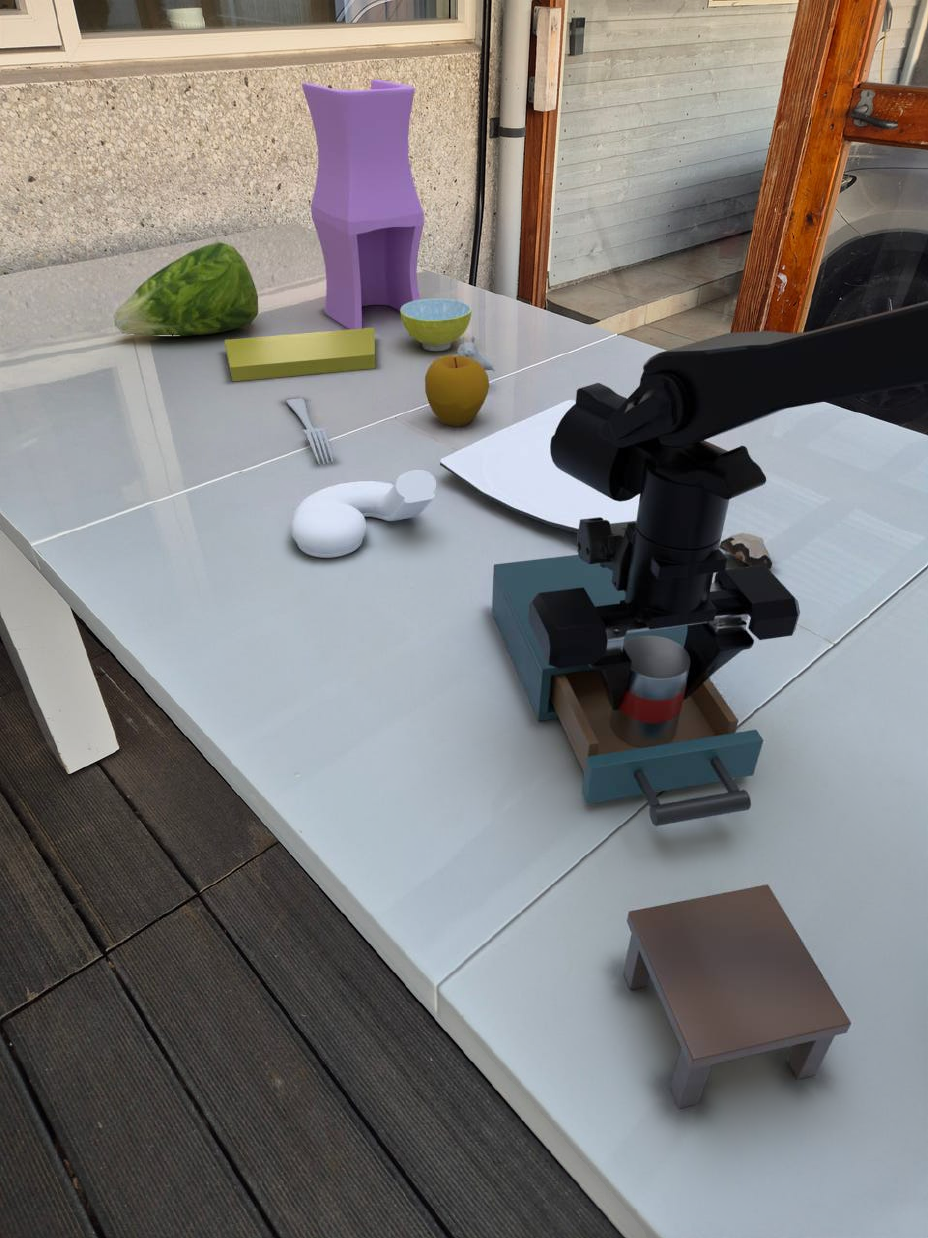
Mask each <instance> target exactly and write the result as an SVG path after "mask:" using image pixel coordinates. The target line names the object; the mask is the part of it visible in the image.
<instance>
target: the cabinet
mask: <svg viewBox="0 0 928 1238" xmlns="http://www.w3.org/2000/svg"><path fill="white" fill-rule="evenodd" d="M492 574H493V575H492V597H491V598H492V599H491V600H492V601H491V605H492V607H491V614H492V616H493V618H494V619H493V620H494V622H495V623H496V626H497V628H498V630H499V632H500V635H501V638H502V639H503V642H504V644H505V647H506V649H507V651H508V653H509V655H510V659H511V661H512V663H513V665H514V667H515V669H516V672H517V674H518V677H519V679H520V681H521V684H522V687H523V689H524V691H525V694H526V695H527V699H528V701H529V703H530V705H531V707H532V710H533V712H534V714H535V717H536V719H537V721H538V722H540V721H547V720H555V719H559V717H558V715H557V713H556V710H555V708H554V706H553V704H552V702H551V699H550V697H549V695H550V684H551V675H557V674H564V673H571V672H578V671H585V670H592V669H591V668H590V667H589V665H582V666H575V667H568V668H561V669H558V668H556V667H553V666H551V665H549V664H548V662H547V660H546V658H545V656H544V654H543V652H542V650H541V647H540V645H539V643H538V641H537V639H536V637H535V635H534V633H533V631H532V629H531V627H530V624H529V622H528V617H529V604H530V602H531V601H532V599H533V598H534V596H536V595H537V594H538V593H542V592H550V591H558V590H566V589H574V588H582V587H584V589H585V591H586V592H587V594H588V596H589V597H590V599H591V601H592V602H593V604H594V606H595V607H596V606H604V605H611V604H619V601H621V600H625V594H626V593H625V592H624V590H621V591H617V590H616V588H615V587H614V585H613V583H612V575H613V571H612V570H610V569H608V568H607V567H605V568H602V567H601V566H600V563H597V564H588V563H586V562H585V561H583V560H582V559H580V558H579V555H578V554H572V555H571V554H570V555H563V556H555V557H544V558H539V559H538V558H537V559H529V560H519V561H512V562H504V563H503V562H502V563H494V564H493V573H492ZM686 635H687V626H680V627H673V628H666V629H658V630H651V631H644V632H636V633H629V634H626V637H625V639H624V644H625V643H626V642H627V641H629V640H630V639H633V638H635V637H639V636H660V637H664V638H667V639H670V640H672V641H674V642H676V643H678V644H680V645H681V646H682V647H683V648H684V644H685V640H686Z"/></svg>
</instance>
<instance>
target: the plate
mask: <svg viewBox="0 0 928 1238" xmlns="http://www.w3.org/2000/svg"><path fill="white" fill-rule="evenodd" d="M575 404H576V400H574V399H567V400H564V401H562V402H560V403H558V404H555V405H553V406H552V407H549V408H547V409H545V410H542V411H540V412H539V413H536V414H534V415H531V416H529V417H527V418H525V419H522V420H520V421H518V422H516V423H513V424H511V425H509V426H507V427H505V428H502V429H500V430H498V431H496V432H494V433H492V434H489V435H488V436H486V437H483V438H481V439H480V440H478V441H475V442H474V443H471V444H469V445H467V446H465V447H463V448H460V449H459V450H456V451H454V452H452V453H450V454H448V455H446V456H444V457H442V458H439V466H441V467H442V468H444V469H445V470H446V471H448V472H449V473H451V474H452V475H453V476H455V477H457V479H459V480H461V482H463V483H465V484H467V485H468V486H469V487H471V488H472V489H473V490H475V491H476V492H478V493H479V494H481V495H482V496H484V497H485V498H487V499H489V500H491V501H493V502H495V503H497V504H499V505H500V506H503V507H505V508H507V509H509V510H511V511H513V512H514V513H517V514H520V515H522V516H525V517H527V518H529V519H532V520H534V521H538V522H539V523H542V524H544V525H547V526H549V527H553V528H556V529H560V530H564V531H568V532H572V533H575V534H578V530H579V523H580V520H581V519H589V518H598V517H601V518H603V520H608V521H609V522H610V524H612V523H621V522H630V521H636V519H637V512H638V505H639V498H640V494H638V495H637V496H635V497H634V498H632V499H630V500H627V501H621V502H619V501H615V500H613V499H611V498H609V497H607V496H606V495H604V494H602V493H600V492H599V491H597V490H595V489H593V488H591V487H590V486H588V485H586V484H584V483H583V482H581V481H579V480H577V479H576V478H574V477H572V476H570V475H568V474H567V473H565V472H563V471H561V470H560V469H559V468H557V467H556V466H555V464H554V463H553V461H552V457H551V452H550V443H551V438H552V436H553V435H554V434H555V431H556V428H557V427H558V425H559V423H560V421H561V419H562V418H563V416H564V415H565V414H566V412H567V411H568V410H569V409H570V408H571V407H572V406H573V405H575Z"/></svg>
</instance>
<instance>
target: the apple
mask: <svg viewBox="0 0 928 1238" xmlns="http://www.w3.org/2000/svg"><path fill="white" fill-rule="evenodd" d="M489 389H490V380H489V376H488V374H487V370H485V369H484V368H483V367H482V366H481V364H480V363H479V362H478V361H476V360H473V359H471V358H468V357H465V356H456V355H442V356H440V357H438V358H437V359H435V360H433V361H432V363H431V364H430V365H429V367H428V368H427V371H426V373H425V376H424V391H425V395H426V398H427V402H428V404H429V407H430V408H431V410H432V412H433V414H434V415H435V417H436V418H437V419H438V421H439V422H441V423H442V424H444V425H447V426H451V427H463V426H465V425H468V424H469V423H471V422H472V421H473V420H474V418H476V417H477V415H478V413H479V412H480V410H481V408H482V406H483V405H484V403H485V401H486V399H487V396H488V393H489Z"/></svg>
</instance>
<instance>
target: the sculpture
mask: <svg viewBox="0 0 928 1238" xmlns="http://www.w3.org/2000/svg"><path fill="white" fill-rule="evenodd" d="M436 488H437V480H436V478H435V477H434V475H433V474H432V473H431V472H429V471H427V470H423V469H413V470H409V471H405V472H403V473H401V474H400V475H399V476H398V477H397V478H396V480H395V482H394V483H393V484H392V483H390V482H384V481H375V480H361V481H349V482H343V483H338V484H334V485H331V486H327V487H324V488H322V489H320V490H317V491H315V492H313V493H312V494H310V495H308V496H307V497H305V498H304V499H303V500H302V501H301V502H300V503H299V504H298V505H297V507H296V509H295V511H294V513H293V515H292V519H291V523H290V535H291V537H292V539H293V540H294V542H296V544H297V547H298V548H299V549H300V550H301V551H302V552H303V553H305V554H306V555H309V556H312V557H316V558H322V559H324V558H325V559H329V558H330V559H332V558H338V557H344V556H346V555H348V554H351V553H353V552H355V551H356V550H358V548H359V547H360V546H362V545H361V544H362V543H363V539H364V537H365V535H366V532H367V529H368V528H367V527H368V526H367V521H366V518H377V519H380V520H384V521H386V522H395V521H402V520H406V519H412V518H415V517H417V516H419V515H420V514H421V513H422V512H424V511H425V509H426V508H427V507H428V506H429V505H430V504H431V502H432V501H433V500H434V499H435V497H436V494H435V491H436Z"/></svg>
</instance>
